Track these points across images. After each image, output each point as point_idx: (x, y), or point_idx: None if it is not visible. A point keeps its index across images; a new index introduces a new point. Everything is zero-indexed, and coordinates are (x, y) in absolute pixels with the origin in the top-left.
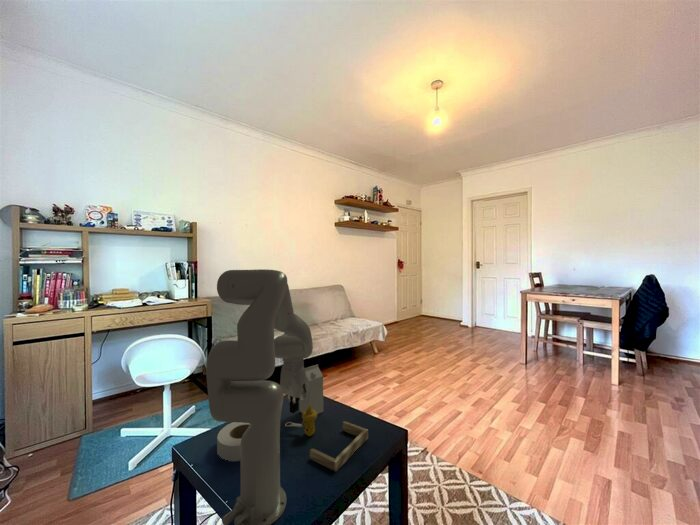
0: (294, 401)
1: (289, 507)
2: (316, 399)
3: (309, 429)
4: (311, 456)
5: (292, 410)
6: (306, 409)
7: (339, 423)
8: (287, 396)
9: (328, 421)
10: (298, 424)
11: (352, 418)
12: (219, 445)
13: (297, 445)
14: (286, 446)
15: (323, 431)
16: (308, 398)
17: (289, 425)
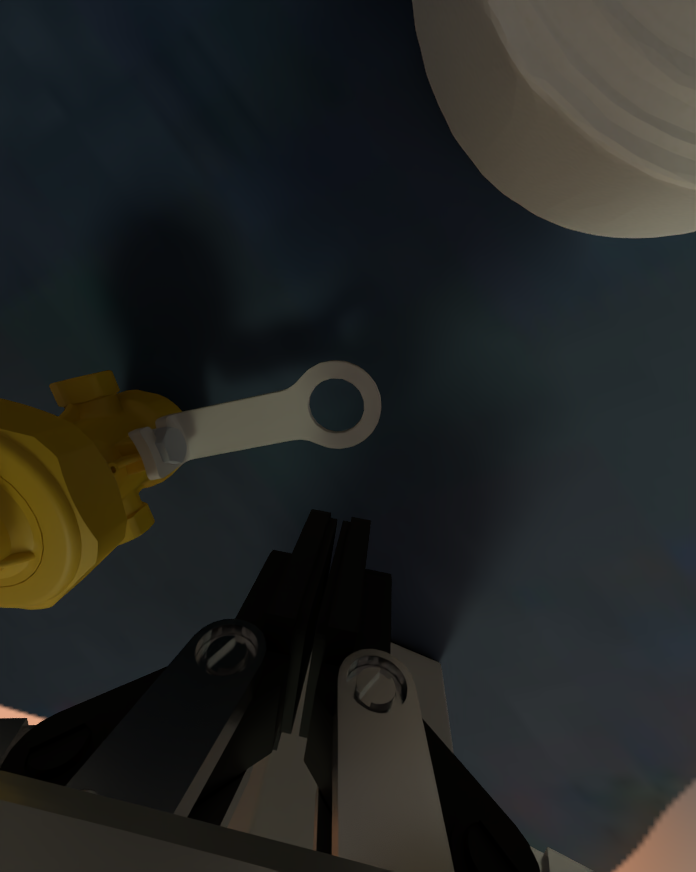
0: (205, 658)
1: None
2: (237, 805)
3: (53, 387)
4: None
5: (305, 528)
6: None
7: (81, 613)
8: (474, 785)
9: (159, 612)
10: (235, 436)
11: (50, 679)
12: None
13: (155, 254)
14: (231, 191)
15: None
16: (268, 805)
17: (310, 382)
